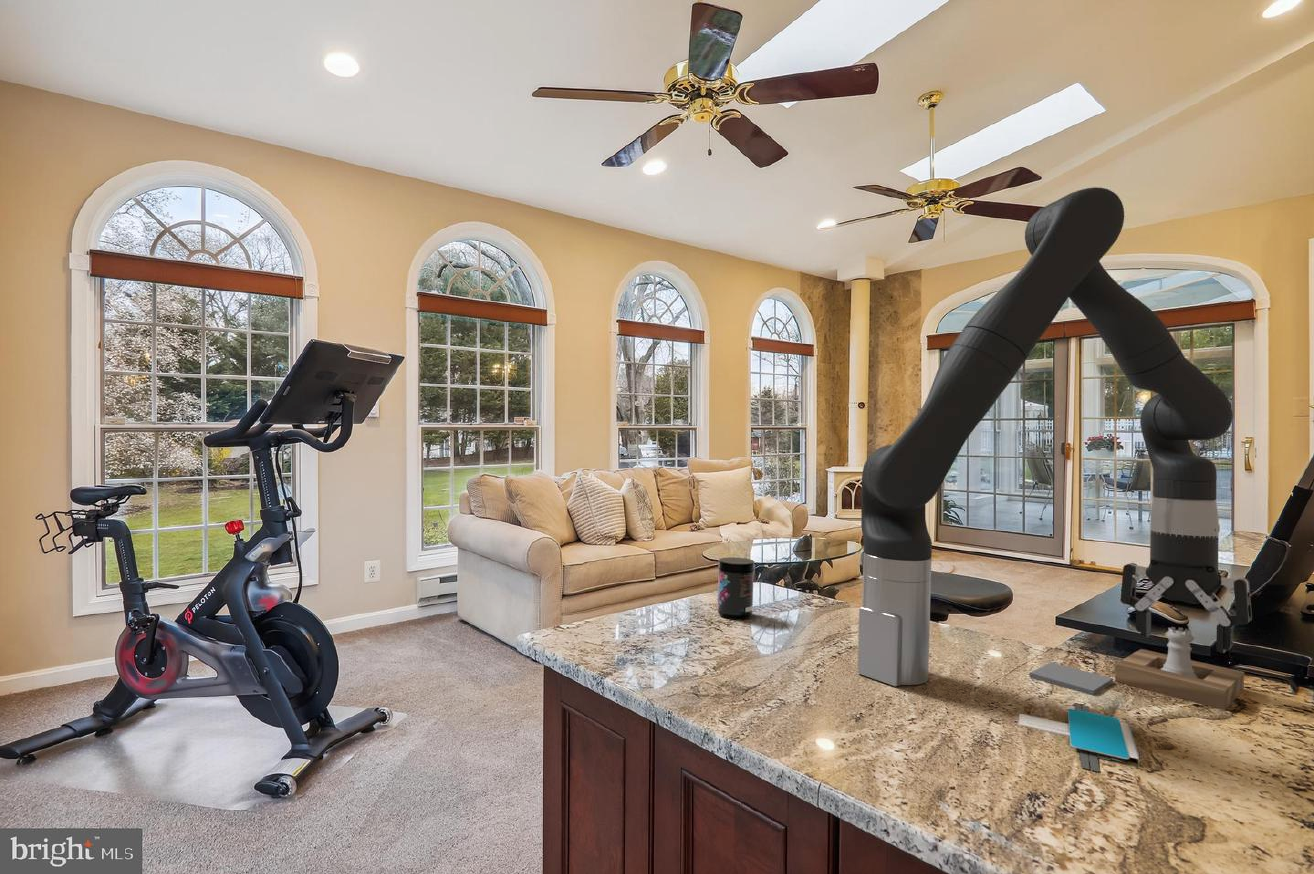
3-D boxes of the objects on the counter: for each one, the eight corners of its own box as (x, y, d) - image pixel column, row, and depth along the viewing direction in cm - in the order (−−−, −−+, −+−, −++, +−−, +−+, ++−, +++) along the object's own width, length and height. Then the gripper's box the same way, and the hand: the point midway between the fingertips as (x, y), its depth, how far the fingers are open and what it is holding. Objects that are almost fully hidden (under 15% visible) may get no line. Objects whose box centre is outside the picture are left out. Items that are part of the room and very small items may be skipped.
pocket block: (1224, 710, 82) (1225, 690, 82) (1115, 681, 92) (1115, 663, 92) (1243, 689, 90) (1244, 672, 90) (1140, 664, 99) (1141, 648, 99)
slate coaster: (1093, 695, 86) (1093, 690, 86) (1029, 676, 92) (1029, 672, 92) (1112, 682, 91) (1112, 678, 91) (1051, 666, 97) (1051, 662, 97)
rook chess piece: (1206, 693, 88) (1207, 635, 88) (1169, 689, 89) (1171, 632, 89) (1186, 681, 93) (1187, 626, 93) (1151, 678, 93) (1153, 623, 94)
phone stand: (1021, 698, 86) (1022, 685, 86) (1130, 720, 80) (1131, 706, 80) (1015, 757, 69) (1015, 742, 69) (1153, 791, 63) (1154, 774, 63)
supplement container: (727, 608, 126) (728, 555, 126) (758, 614, 122) (760, 560, 122) (710, 615, 120) (712, 560, 120) (743, 622, 116) (744, 565, 116)
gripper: (1115, 526, 94) (1114, 635, 94) (1245, 538, 83) (1244, 663, 83) (1131, 523, 99) (1130, 627, 99) (1256, 534, 88) (1255, 652, 87)
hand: (1182, 643), depth 91 cm, fingers open, 8 cm apart
